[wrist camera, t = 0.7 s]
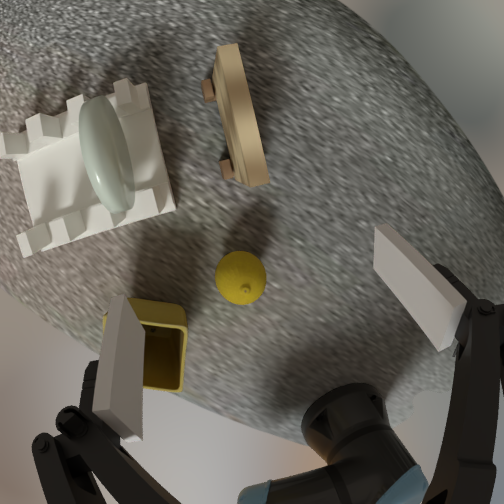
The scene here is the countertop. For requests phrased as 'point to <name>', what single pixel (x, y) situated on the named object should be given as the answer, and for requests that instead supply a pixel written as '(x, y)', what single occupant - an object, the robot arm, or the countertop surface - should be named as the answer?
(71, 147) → the dish rack
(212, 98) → the board stand
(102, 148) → the sage plate
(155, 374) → the flower pot
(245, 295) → the lemon
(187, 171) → the countertop surface
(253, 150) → the bamboo board
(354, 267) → the countertop surface
